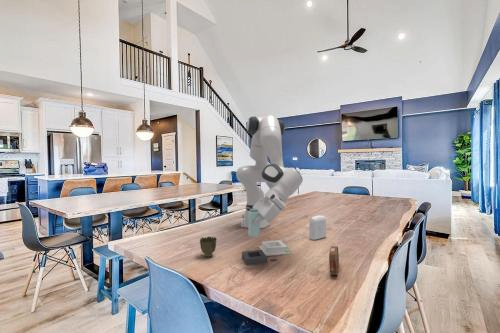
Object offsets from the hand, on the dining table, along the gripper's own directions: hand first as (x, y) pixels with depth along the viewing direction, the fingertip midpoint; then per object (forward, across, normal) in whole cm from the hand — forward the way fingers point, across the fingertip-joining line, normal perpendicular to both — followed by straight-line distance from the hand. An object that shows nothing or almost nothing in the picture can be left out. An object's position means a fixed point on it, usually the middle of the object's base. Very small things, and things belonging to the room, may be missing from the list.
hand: (252, 222), depth 111 cm
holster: (+11, 0, +12) cm, 16 cm away
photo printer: (-18, -21, +41) cm, 49 cm away
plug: (+3, 0, +4) cm, 5 cm away
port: (+2, -9, +21) cm, 23 cm away
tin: (-9, +17, +32) cm, 37 cm away
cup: (+25, -9, -1) cm, 26 cm away
